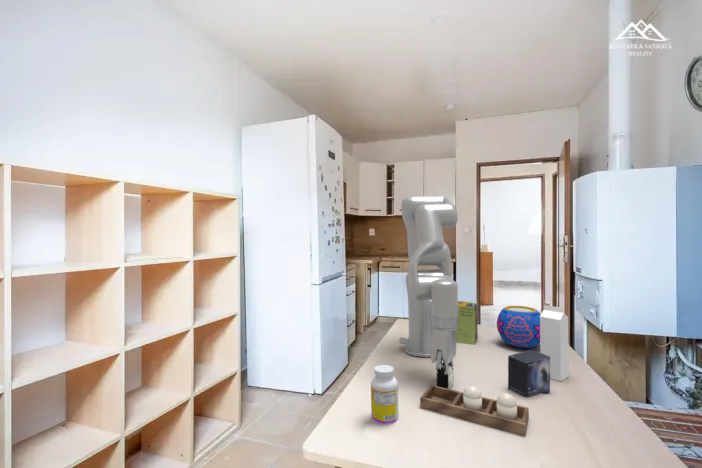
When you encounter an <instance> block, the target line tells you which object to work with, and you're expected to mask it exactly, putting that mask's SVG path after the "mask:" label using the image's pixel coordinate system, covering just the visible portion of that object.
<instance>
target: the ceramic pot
mask: <svg viewBox="0 0 702 468" xmlns="http://www.w3.org/2000/svg"><path fill="white" fill-rule="evenodd" d="M541 314H542V313H540V312H539V311H538V310H537V309H536V308H534V307H530V306H525V305H524V306H523V305H507V306H505V307H503V308H502V309H501V310H500V312H499V314H498V315H497V318H496V328H497V332H498V333H499V336H500V337H501V339H502V340H503V341H504V342H506V344H509V345H511V346H513V347H516V348H519V349H526V348H527V349H528V348H534V347H535V346H538V345H540V315H541Z"/></svg>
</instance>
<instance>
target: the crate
mask: <svg viewBox="0 0 702 468" xmlns="http://www.w3.org/2000/svg"><path fill="white" fill-rule="evenodd" d="M463 392H464V391H460V390H459V391H458V390H455V389H452V388H451V389H446V388H442V387H438V386H437V385H432V384H431V385H429V387H428V388H427V389H426V390H425V392H424V393H423V394H422V395H421V396H420V398H419V399H420V400H419V401H420V406H419V408H420V409H423V410H427V411H431V412H434V413H439V414H442V415H446V416H449V417H453V418H456V419H460V420H464V421H466V422H472V423H475V424H477V425H482V426H486V427H488V428H493V429H496V430H500V431H504V432H508V433H512V434H515V435H518V436H523V437H524V438H525V437H526V436H527V431H528V425H529V419H530V415H529V414H530V413H529V411H530V410H529V408H530V407H528V406H523V405H521V404H520V405H519V404H517V421H515V420H511V419H507V418H503V417H499V416H497V399H494V398H489V397H484V396H482V412H480V411H476V410H472V409H468V408H464V407H463Z"/></svg>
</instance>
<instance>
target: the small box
mask: <svg viewBox="0 0 702 468" xmlns="http://www.w3.org/2000/svg"><path fill="white" fill-rule="evenodd" d="M507 357H508V358H507V360H508V361H507V362H508V363H507V371H508V372H507V390H509V391H511V392H513V393H515V394H517V395H520V396H521V397H524V398H527V399H528V398H532V397H534V396H538V395H539V394H542V395H546V394H548V393H551V378H550V356H547V355H544V354H541V353H540V352H538V351H535V350H532V349H530V350H525V351H521V352H518V353H513V354H510V355H509V354H508V356H507Z"/></svg>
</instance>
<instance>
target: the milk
mask: <svg viewBox="0 0 702 468" xmlns="http://www.w3.org/2000/svg"><path fill="white" fill-rule="evenodd" d="M540 314H541V315H540V344H539V347H540V348H539V349H540V352H539V353H541V354H544V355H547V356H550V380H551V379H552V380H555V381H557V382H563V381H565V380H566V379H567V378H569V376H570V360H569V359H570V356H569V355H570V352H569V351H570V350H569V347H570V346H569V345H570V343H569V316H568V315H567V314H566V313H565V309H564V307H561V306H560V307H559V306H553V305H546V304H544V305H543V310H542V312H541V313H540Z"/></svg>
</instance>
